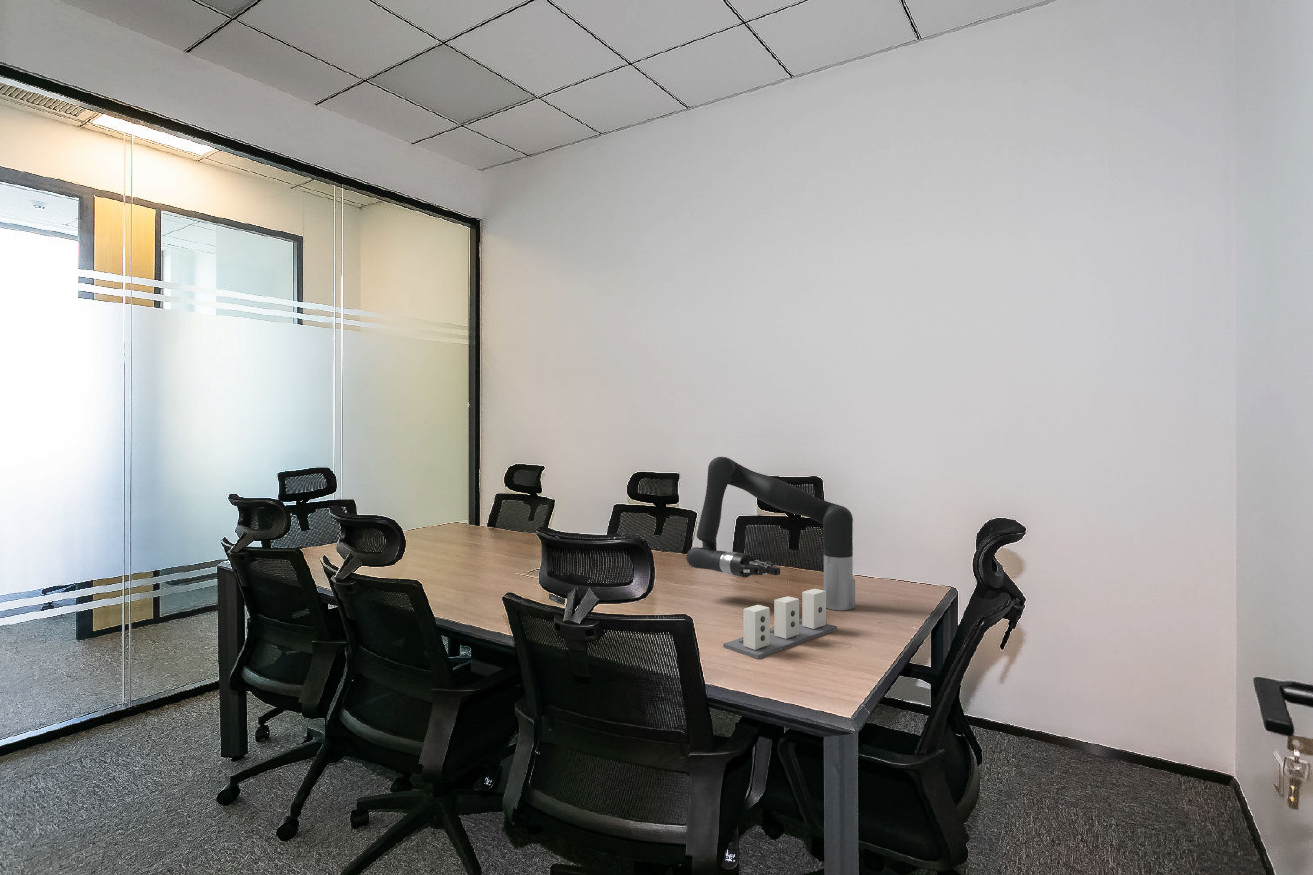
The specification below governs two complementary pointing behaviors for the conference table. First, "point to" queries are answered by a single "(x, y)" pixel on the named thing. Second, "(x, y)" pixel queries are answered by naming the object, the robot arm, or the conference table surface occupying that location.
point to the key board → (779, 641)
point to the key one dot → (814, 608)
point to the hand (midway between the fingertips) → (778, 571)
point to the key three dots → (756, 626)
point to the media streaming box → (557, 599)
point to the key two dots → (786, 617)
